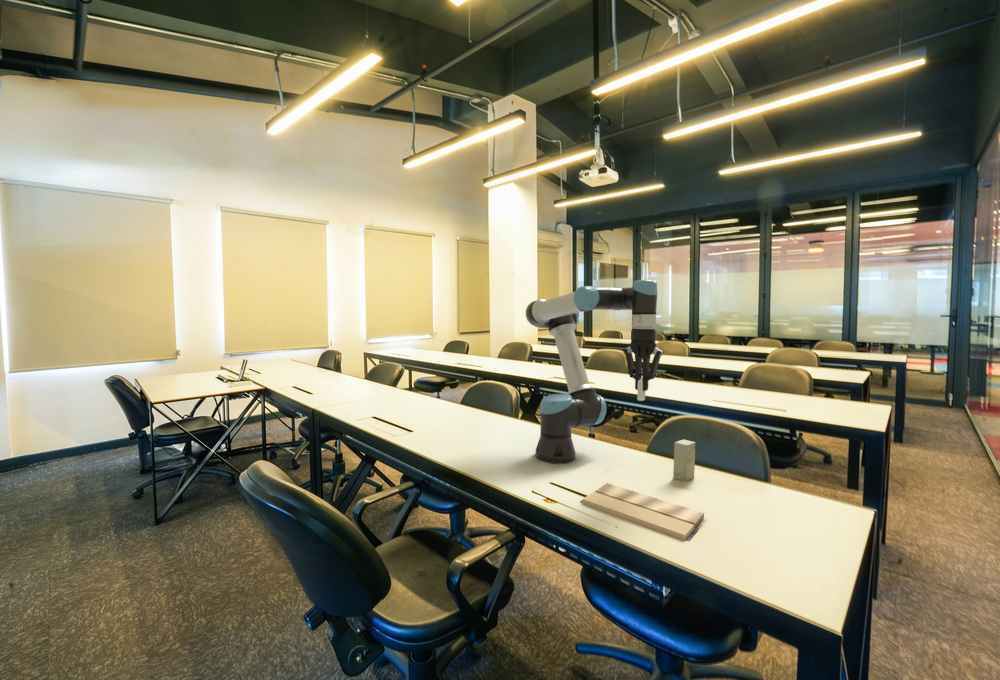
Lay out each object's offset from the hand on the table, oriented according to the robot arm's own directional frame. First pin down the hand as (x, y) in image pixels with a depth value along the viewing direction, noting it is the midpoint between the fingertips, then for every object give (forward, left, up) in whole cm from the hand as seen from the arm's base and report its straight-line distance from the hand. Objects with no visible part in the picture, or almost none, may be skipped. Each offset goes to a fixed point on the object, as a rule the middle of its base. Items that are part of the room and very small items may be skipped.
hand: (641, 399), depth 137 cm
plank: (+11, -19, -25) cm, 34 cm away
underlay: (+11, -23, -26) cm, 37 cm away
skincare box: (+11, +11, -27) cm, 31 cm away
